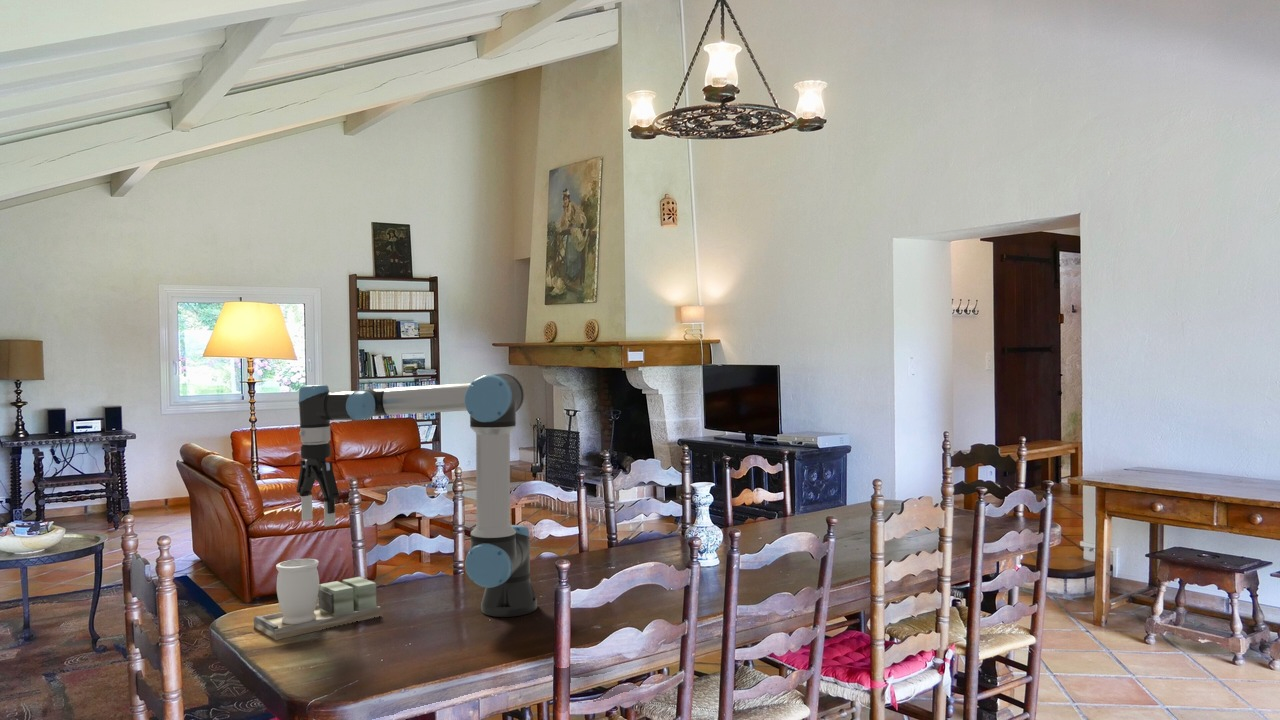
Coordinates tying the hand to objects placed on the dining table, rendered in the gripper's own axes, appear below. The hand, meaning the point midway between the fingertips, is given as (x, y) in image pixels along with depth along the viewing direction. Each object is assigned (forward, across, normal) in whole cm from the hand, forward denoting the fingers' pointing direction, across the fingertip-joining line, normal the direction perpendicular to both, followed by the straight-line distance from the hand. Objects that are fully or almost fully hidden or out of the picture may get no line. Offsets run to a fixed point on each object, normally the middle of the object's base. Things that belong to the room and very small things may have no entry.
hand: (318, 522), depth 242 cm
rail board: (+26, +1, -1) cm, 26 cm away
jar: (+24, +1, -7) cm, 25 cm away
